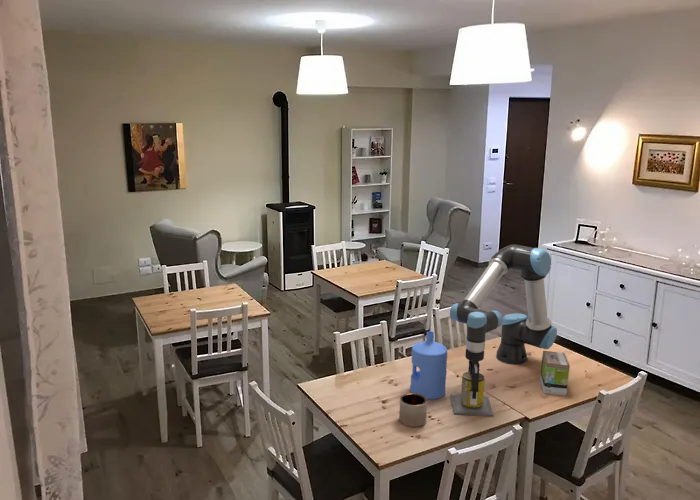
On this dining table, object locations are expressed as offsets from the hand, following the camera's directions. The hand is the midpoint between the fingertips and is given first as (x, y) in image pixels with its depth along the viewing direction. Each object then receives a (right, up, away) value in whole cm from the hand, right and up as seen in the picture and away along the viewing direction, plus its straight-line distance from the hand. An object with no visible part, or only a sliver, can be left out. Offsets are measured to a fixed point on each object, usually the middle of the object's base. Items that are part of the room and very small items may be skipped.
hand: (471, 399), depth 245 cm
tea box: (+41, 0, +19) cm, 45 cm away
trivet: (0, -3, +1) cm, 3 cm away
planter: (-26, -6, -12) cm, 29 cm away
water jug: (-17, 0, +13) cm, 21 cm away
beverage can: (0, -2, 0) cm, 2 cm away
